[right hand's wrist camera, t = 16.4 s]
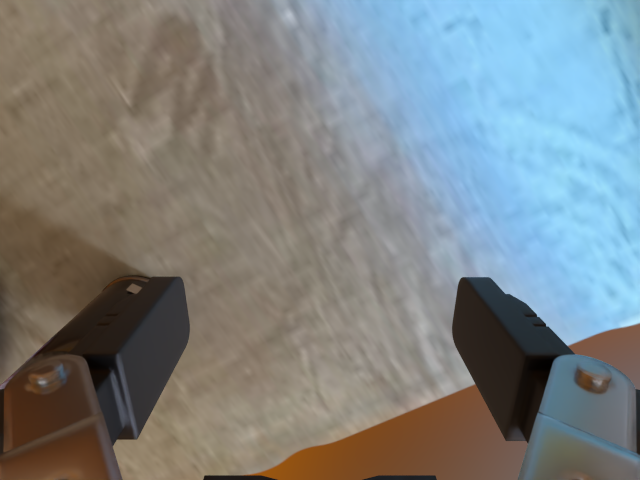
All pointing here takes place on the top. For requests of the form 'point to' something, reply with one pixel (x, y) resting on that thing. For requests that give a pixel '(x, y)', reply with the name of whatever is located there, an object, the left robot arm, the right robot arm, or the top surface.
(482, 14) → the top surface
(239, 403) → the top surface
